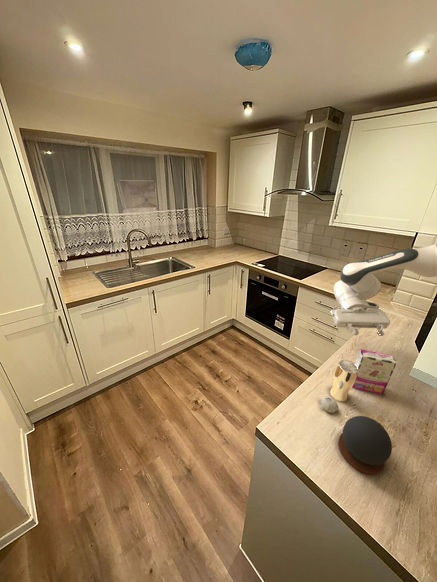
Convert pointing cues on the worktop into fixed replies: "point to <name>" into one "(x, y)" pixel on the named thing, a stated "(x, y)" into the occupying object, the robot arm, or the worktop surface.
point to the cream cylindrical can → (344, 379)
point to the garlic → (329, 404)
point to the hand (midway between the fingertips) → (369, 334)
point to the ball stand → (365, 445)
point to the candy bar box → (374, 371)
